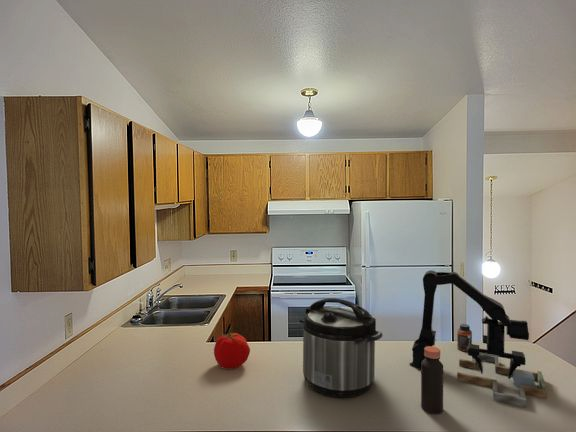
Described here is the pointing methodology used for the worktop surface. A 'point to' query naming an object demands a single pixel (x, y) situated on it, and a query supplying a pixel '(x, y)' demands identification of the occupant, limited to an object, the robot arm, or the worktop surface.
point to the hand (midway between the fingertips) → (495, 375)
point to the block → (523, 378)
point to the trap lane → (493, 383)
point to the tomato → (231, 351)
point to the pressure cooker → (339, 348)
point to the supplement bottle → (464, 337)
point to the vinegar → (432, 381)
